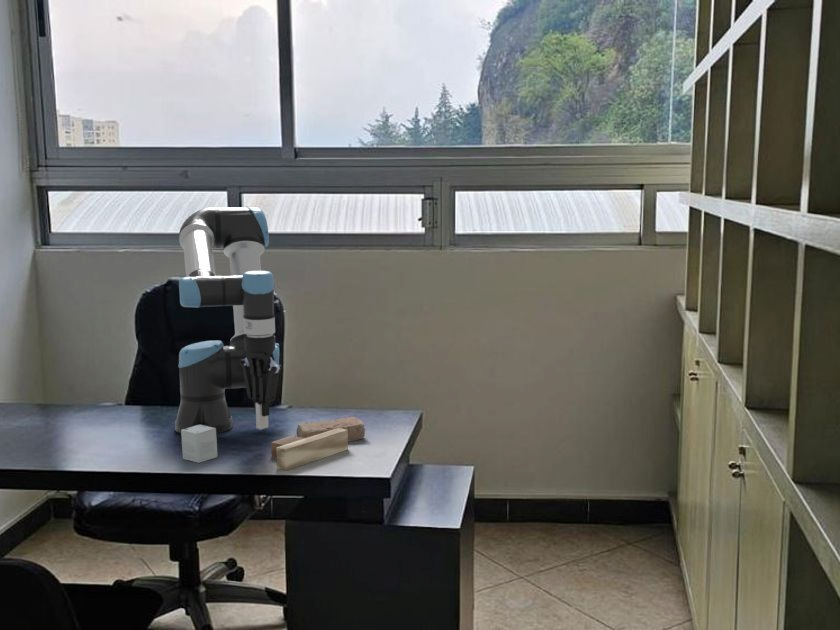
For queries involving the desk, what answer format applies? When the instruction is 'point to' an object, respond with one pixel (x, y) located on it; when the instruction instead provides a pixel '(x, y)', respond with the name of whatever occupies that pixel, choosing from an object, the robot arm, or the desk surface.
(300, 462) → the board
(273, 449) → the block
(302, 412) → the desk surface
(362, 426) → the brick
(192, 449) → the skincare box
